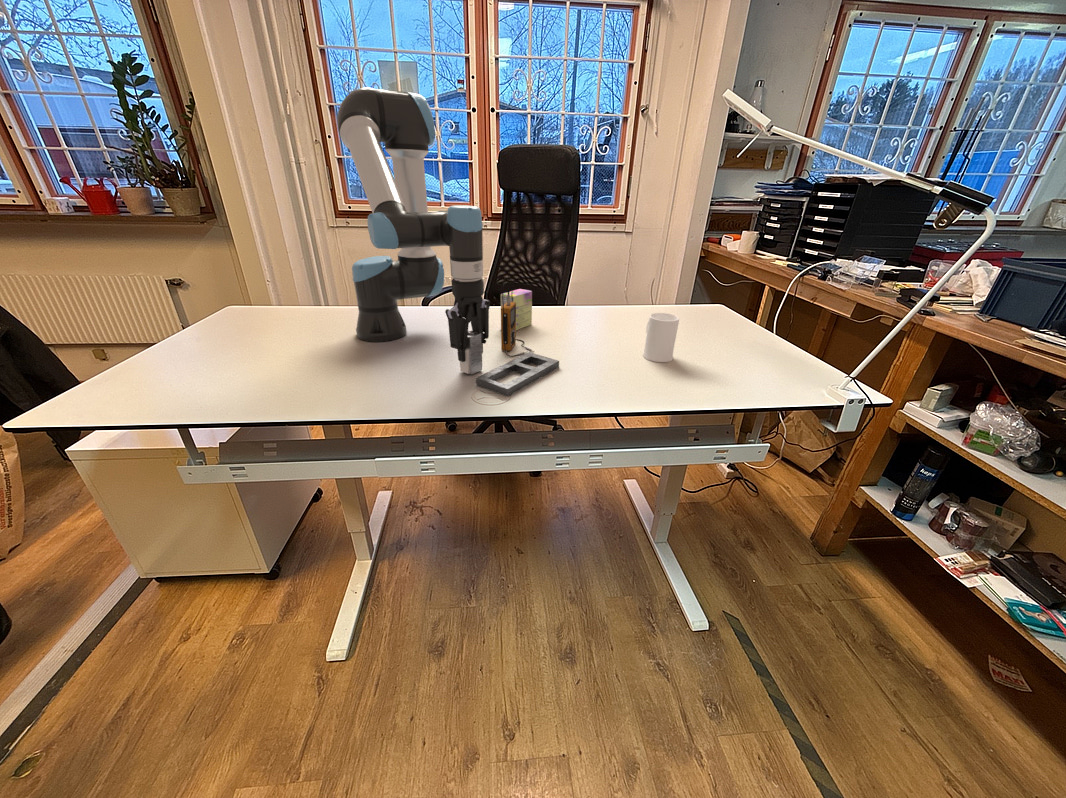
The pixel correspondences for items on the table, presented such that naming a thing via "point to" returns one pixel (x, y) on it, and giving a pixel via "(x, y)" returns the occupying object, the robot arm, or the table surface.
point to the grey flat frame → (521, 367)
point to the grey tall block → (474, 351)
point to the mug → (660, 337)
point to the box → (521, 306)
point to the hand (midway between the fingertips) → (471, 368)
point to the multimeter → (509, 324)
